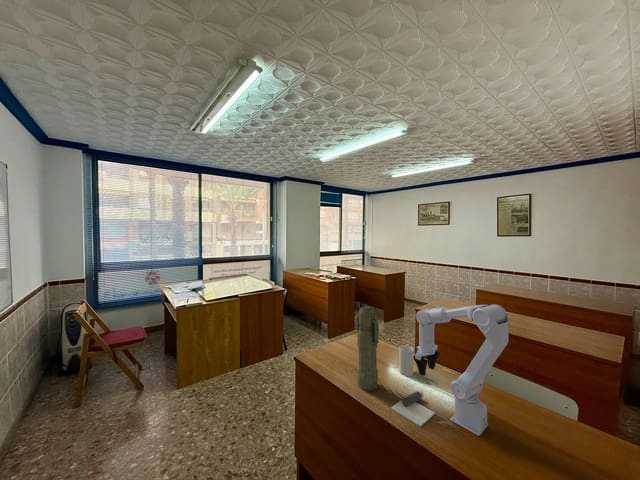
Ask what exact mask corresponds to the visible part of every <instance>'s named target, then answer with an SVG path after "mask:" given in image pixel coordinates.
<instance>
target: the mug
mask: <svg viewBox="0 0 640 480" xmlns="http://www.w3.org/2000/svg"><path fill="white" fill-rule="evenodd" d="M413 356H415V351H414V347H412V346H410V345H400V346H399V347H398V357H399V359H398V362H399V363H398V365H399V367H398V369H399V374H401V375H402V376H405V377H411V376H413V375H414V362H415V360H414V358H413Z"/></svg>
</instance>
